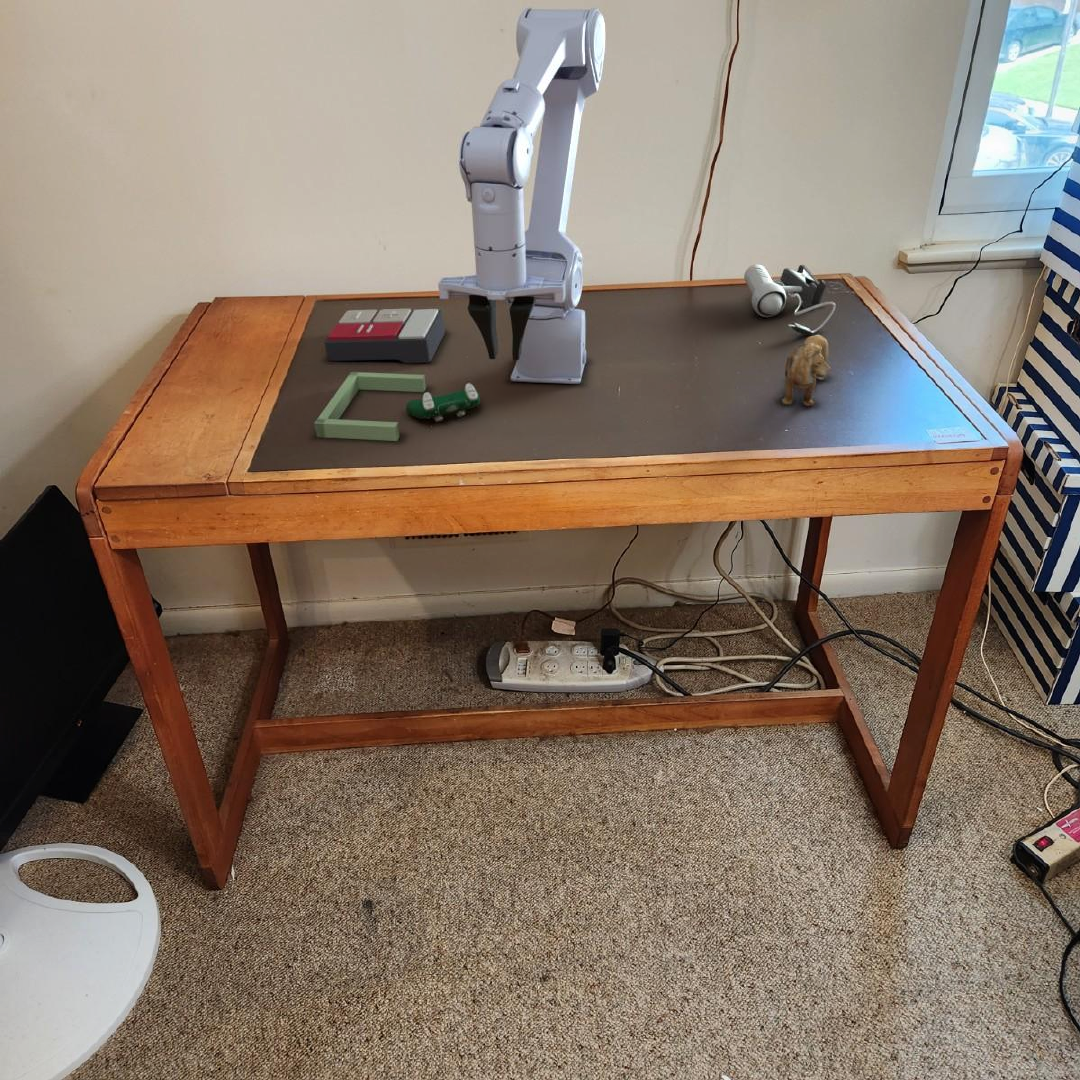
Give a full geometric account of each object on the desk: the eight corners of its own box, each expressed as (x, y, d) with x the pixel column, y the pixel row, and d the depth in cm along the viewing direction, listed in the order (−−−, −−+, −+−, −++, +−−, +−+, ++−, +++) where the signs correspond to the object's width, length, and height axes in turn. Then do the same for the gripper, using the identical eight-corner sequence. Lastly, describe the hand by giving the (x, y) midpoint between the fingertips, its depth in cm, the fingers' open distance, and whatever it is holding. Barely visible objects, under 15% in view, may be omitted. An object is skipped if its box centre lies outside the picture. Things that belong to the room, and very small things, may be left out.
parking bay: (426, 388, 120) (424, 374, 119) (397, 441, 109) (395, 426, 108) (353, 385, 122) (351, 371, 120) (317, 437, 110) (314, 422, 109)
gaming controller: (411, 433, 114) (419, 418, 108) (403, 405, 114) (409, 388, 109) (479, 417, 117) (489, 402, 111) (470, 390, 117) (480, 373, 112)
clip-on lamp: (841, 351, 134) (801, 284, 145) (857, 315, 129) (814, 249, 141) (767, 351, 132) (732, 283, 143) (780, 314, 127) (743, 247, 139)
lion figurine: (821, 421, 110) (833, 353, 105) (777, 416, 112) (787, 349, 106) (827, 371, 122) (839, 307, 116) (787, 367, 123) (797, 304, 118)
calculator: (344, 307, 135) (441, 304, 133) (350, 334, 137) (445, 332, 135) (322, 337, 126) (425, 334, 124) (328, 365, 128) (430, 363, 126)
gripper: (427, 253, 98) (439, 368, 106) (559, 256, 96) (560, 372, 104) (442, 233, 103) (452, 343, 111) (567, 236, 102) (567, 348, 110)
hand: (505, 356), depth 108 cm, fingers closed
